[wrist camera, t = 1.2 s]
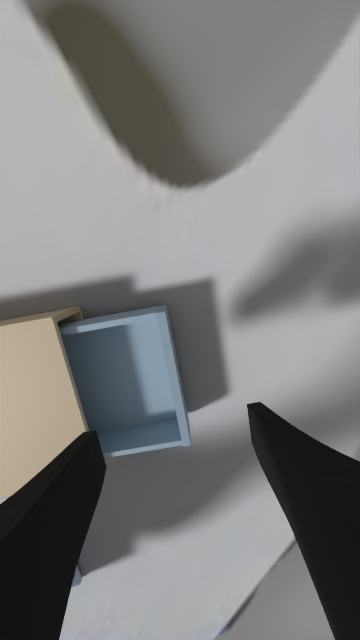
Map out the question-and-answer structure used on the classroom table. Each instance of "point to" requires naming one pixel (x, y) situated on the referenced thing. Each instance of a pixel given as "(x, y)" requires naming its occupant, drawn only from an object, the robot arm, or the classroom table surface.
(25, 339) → the sleeve
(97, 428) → the tray
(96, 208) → the classroom table surface
